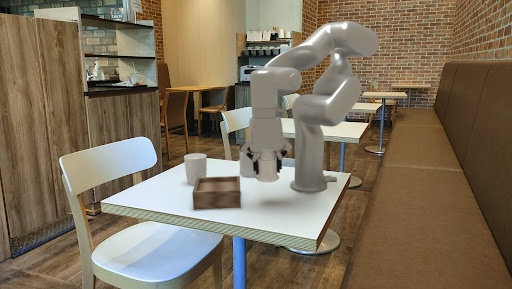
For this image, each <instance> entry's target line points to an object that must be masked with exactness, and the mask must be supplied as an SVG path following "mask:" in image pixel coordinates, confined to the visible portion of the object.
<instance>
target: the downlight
mask: <svg viewBox="0 0 512 289" xmlns="http://www.w3.org/2000/svg"><path fill="white" fill-rule="evenodd" d="M270 150H272V149H263V150H262V152H259V157H258V158H257V161H258V172H259V174H258V176H257V177H255V178H256V180H257V181H258V182H261V183H274V182H277V181H279V179H280V175H278V172H277V156H276V155H275V154H276V151H274V152H273V151H270Z"/></svg>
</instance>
